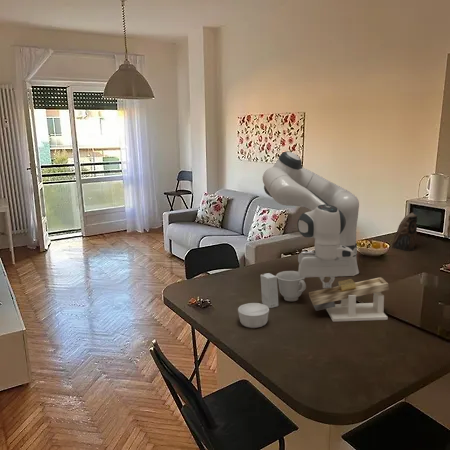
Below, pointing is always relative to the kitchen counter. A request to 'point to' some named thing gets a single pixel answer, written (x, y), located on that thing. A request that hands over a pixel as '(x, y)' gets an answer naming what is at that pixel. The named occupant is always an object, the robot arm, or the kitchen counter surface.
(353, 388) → the kitchen counter surface
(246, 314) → the ramekin
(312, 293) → the beam
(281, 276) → the teacup
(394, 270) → the kitchen counter surface
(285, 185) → the robot arm
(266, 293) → the skincare box
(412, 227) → the owl
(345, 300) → the pivot stand
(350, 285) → the tan rectangular block
